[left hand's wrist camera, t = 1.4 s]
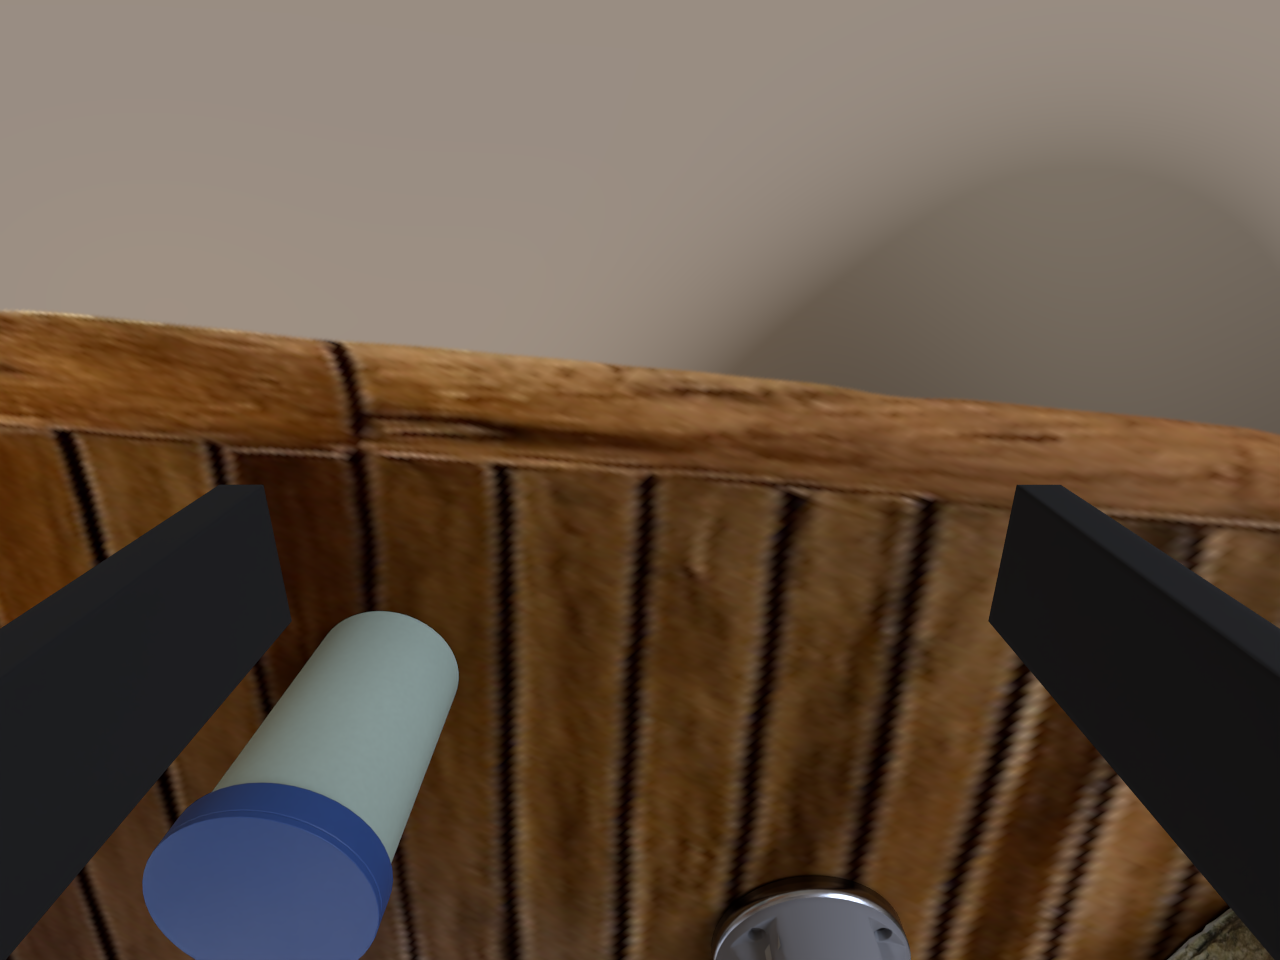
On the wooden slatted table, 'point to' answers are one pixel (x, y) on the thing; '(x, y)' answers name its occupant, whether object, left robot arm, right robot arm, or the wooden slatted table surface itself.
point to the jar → (359, 720)
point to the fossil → (1223, 942)
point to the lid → (268, 877)
